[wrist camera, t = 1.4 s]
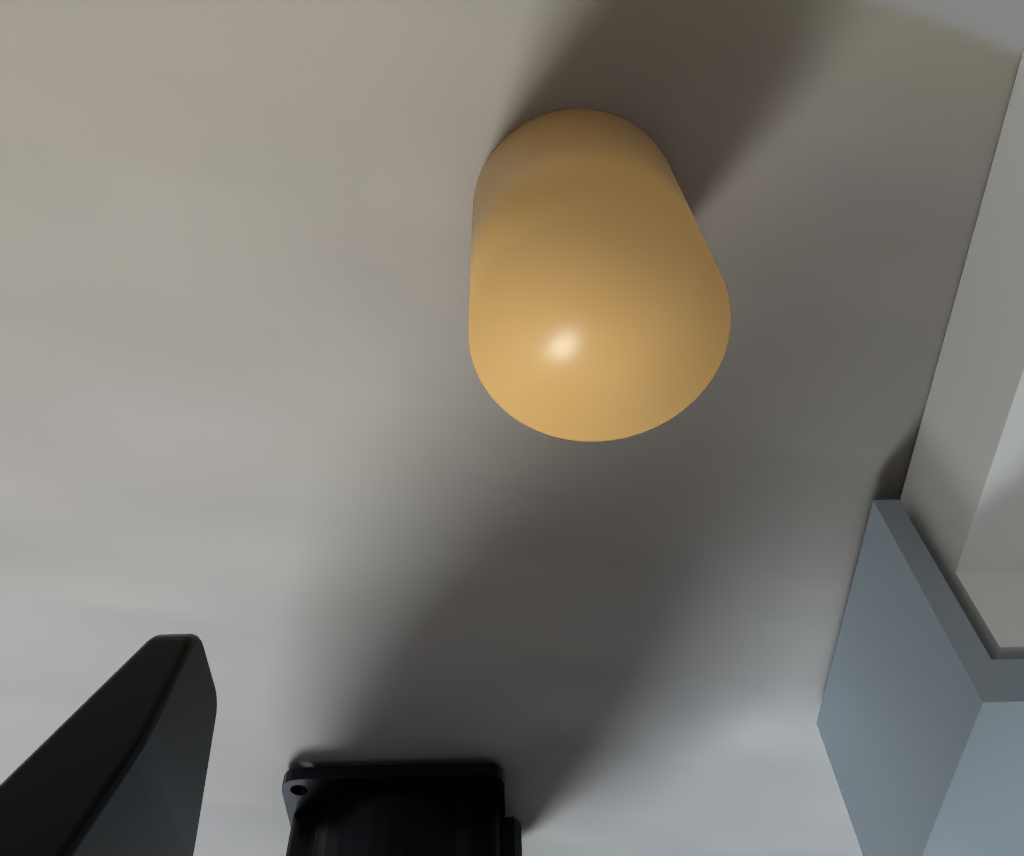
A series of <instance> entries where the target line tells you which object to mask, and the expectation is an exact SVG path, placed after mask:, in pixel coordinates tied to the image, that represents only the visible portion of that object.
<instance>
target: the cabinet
mask: <svg viewBox="0 0 1024 856" xmlns="http://www.w3.org/2000/svg"><path fill="white" fill-rule="evenodd" d="M817 726H818V728H819V731H820V734H821V737H822V740H823V743H824V745H825V748H826V751H827V754H828V757H829V760H830V762H831V765H832V768H833V771H834V774H835V777H836V780H837V782H838V785H839V788H840V791H841V794H842V797H843V799H844V802H845V805H846V808H847V811H848V814H849V816H850V819H851V822H852V825H853V828H854V831H855V833H856V836H857V839H858V842H859V845H860V848H861V850H862V853H863V856H1024V659H994V660H991V658H990V656H989V654H988V653H987V651H986V649H985V647H984V646H983V644H982V642H981V641H980V639H979V637H978V635H977V634H976V632H975V630H974V628H973V627H972V625H971V623H970V622H969V620H968V618H967V616H966V615H965V613H964V611H963V609H962V608H961V606H960V604H959V603H958V601H957V599H956V597H955V596H954V594H953V592H952V590H951V589H950V587H949V585H948V584H947V582H946V580H945V578H944V577H943V575H942V573H941V571H940V570H939V568H938V566H937V565H936V563H935V561H934V559H933V558H932V556H931V554H930V552H929V551H928V549H927V547H926V546H925V544H924V542H923V540H922V539H921V537H920V535H919V533H918V532H917V530H916V528H915V527H914V525H913V523H912V521H911V520H910V518H909V516H908V514H907V513H906V511H905V509H904V508H903V506H902V504H901V502H900V501H899V499H897V500H873V503H872V507H871V511H870V515H869V519H868V523H867V527H866V531H865V535H864V539H863V542H862V546H861V550H860V554H859V558H858V562H857V566H856V570H855V574H854V578H853V582H852V586H851V590H850V594H849V598H848V601H847V605H846V609H845V613H844V617H843V621H842V625H841V629H840V633H839V637H838V641H837V645H836V649H835V653H834V657H833V661H832V664H831V668H830V672H829V676H828V680H827V684H826V688H825V692H824V696H823V700H822V704H821V708H820V712H819V716H818V720H817Z"/></svg>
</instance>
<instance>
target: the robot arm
mask: <svg viewBox="0 0 1024 856" xmlns="http://www.w3.org/2000/svg"><path fill="white" fill-rule="evenodd" d="M216 710H217V697H216V690H215V686H214V683H213V679H212V675H211V672H210V668H209V665H208V661H207V658H206V654H205V650H204V647H203V644H202V642H201V640H200V639H199V637H198V636H196V635H193V634H168V635H157V636H155V637H153V638H151V639H150V640H149V641H147V642H146V643H145V644H144V645H143V646H142V647H141V648H140V649H139V650H138V651H137V652H136V653H135V654H134V655H133V656H132V657H131V658H130V659H129V660H128V661H127V662H126V663H125V664H124V665H123V666H122V667H121V668H120V669H119V670H118V671H117V672H116V673H115V674H114V675H113V676H112V677H110V678H109V679H108V680H107V681H106V682H105V683H104V684H103V685H102V686H101V687H100V688H99V689H98V690H97V691H96V692H95V693H94V694H93V695H92V696H91V697H90V698H89V699H88V700H87V701H86V702H85V703H84V704H83V705H82V706H81V707H80V708H79V709H78V710H77V711H76V712H75V713H74V714H73V715H72V716H71V717H70V718H68V719H67V720H66V721H65V722H64V723H63V724H62V725H61V726H60V727H59V728H58V729H57V730H56V731H55V732H54V733H53V734H52V735H51V736H50V737H49V738H48V739H47V740H46V741H45V742H44V743H43V744H42V745H41V746H40V747H39V748H38V749H37V750H36V751H35V752H34V753H33V754H32V755H31V756H30V757H29V758H28V759H26V760H25V761H24V762H23V763H22V764H21V765H20V766H19V767H18V768H17V769H16V770H15V771H14V772H13V773H12V774H11V775H10V776H9V777H8V778H7V779H6V780H5V781H4V782H3V783H2V784H1V785H0V856H193V852H194V847H195V841H196V835H197V829H198V823H199V817H200V811H201V805H202V798H203V792H204V786H205V780H206V774H207V768H208V762H209V755H210V749H211V743H212V737H213V731H214V725H215V719H216ZM282 793H283V797H284V801H285V805H286V809H287V813H288V817H289V821H290V825H291V831H290V837H289V842H288V847H287V852H286V856H522V842H521V822H520V821H519V820H518V819H517V818H516V817H515V816H505V794H504V772H503V769H502V768H501V767H500V766H499V765H497V764H494V763H487V762H485V763H450V764H414V765H379V766H344V767H309V768H294V769H291V770H289V771H287V772H286V774H285V775H284V780H283V785H282Z"/></svg>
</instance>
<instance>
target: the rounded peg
mask: <svg viewBox="0 0 1024 856" xmlns="http://www.w3.org/2000/svg"><path fill="white" fill-rule="evenodd" d="M730 330H731V307H730V299H729V295H728V291H727V287H726V284H725V282H724V279H723V277H722V275H721V272H720V270H719V268H718V266H717V264H716V262H715V260H714V258H713V255H712V253H711V251H710V249H709V247H708V245H707V243H706V241H705V239H704V237H703V235H702V233H701V231H700V228H699V226H698V224H697V222H696V220H695V218H694V216H693V214H692V212H691V210H690V208H689V206H688V204H687V201H686V199H685V197H684V195H683V193H682V191H681V189H680V187H679V185H678V183H677V181H676V179H675V177H674V174H673V172H672V170H671V168H670V166H669V164H668V162H667V160H666V158H665V157H664V155H663V153H662V152H661V150H660V149H659V147H658V146H657V145H656V144H655V142H654V141H653V140H652V139H651V138H650V137H649V136H648V135H647V134H646V133H645V132H643V131H642V130H641V129H640V128H638V127H637V126H635V125H634V124H632V123H631V122H629V121H627V120H625V119H623V118H621V117H619V116H616V115H613V114H610V113H607V112H603V111H598V110H592V109H567V110H560V111H556V112H551V113H548V114H545V115H542V116H539V117H537V118H534V119H532V120H531V121H529V122H527V123H525V124H523V125H521V126H520V127H519V128H517V129H516V130H514V131H513V132H511V133H510V134H509V135H508V136H507V137H506V138H505V139H504V140H503V141H502V142H501V143H500V144H499V145H498V146H497V147H496V149H495V150H494V151H493V152H492V154H491V155H490V157H489V158H488V160H487V161H486V163H485V165H484V167H483V169H482V171H481V173H480V176H479V178H478V182H477V185H476V188H475V193H474V199H473V219H472V247H471V275H470V303H469V334H468V338H469V346H470V353H471V357H472V360H473V364H474V367H475V370H476V372H477V374H478V376H479V379H480V381H481V382H482V384H483V385H484V387H485V389H486V390H487V392H488V393H489V394H490V396H491V397H492V398H493V399H494V400H495V402H496V403H497V404H498V405H499V406H500V407H501V408H503V409H504V410H505V411H506V412H507V413H508V414H509V415H511V416H512V417H514V418H515V419H516V420H518V421H519V422H521V423H523V424H525V425H526V426H528V427H530V428H532V429H534V430H536V431H539V432H542V433H544V434H547V435H550V436H554V437H558V438H562V439H567V440H575V441H591V442H597V441H609V440H616V439H621V438H626V437H630V436H633V435H637V434H640V433H643V432H645V431H648V430H650V429H653V428H655V427H657V426H659V425H661V424H663V423H664V422H666V421H668V420H670V419H672V418H673V417H674V416H676V415H677V414H679V413H680V412H681V411H683V410H684V409H685V408H686V407H688V406H689V405H690V404H691V403H692V402H693V401H694V400H695V399H696V398H697V397H698V396H699V395H700V394H701V393H702V392H703V390H704V389H705V388H706V387H707V386H708V384H709V383H710V381H711V380H712V378H713V377H714V375H715V374H716V372H717V370H718V368H719V366H720V364H721V362H722V360H723V357H724V354H725V351H726V349H727V346H728V341H729V336H730Z"/></svg>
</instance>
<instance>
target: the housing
mask: <svg viewBox="0 0 1024 856" xmlns="http://www.w3.org/2000/svg"><path fill="white" fill-rule="evenodd" d="M900 502H901V504H902V506H903V508H904V509H905V511H906V513H907V514H908V516H909V518H910V520H911V521H912V523H913V525H914V527H915V528H916V530H917V532H918V533H919V535H920V537H921V539H922V540H923V542H924V544H925V546H926V547H927V549H928V551H929V552H930V554H931V556H932V558H933V559H934V561H935V563H936V565H937V566H938V568H939V570H940V571H941V573H942V575H943V577H944V578H945V580H946V582H947V584H948V585H949V587H950V589H951V590H952V592H953V594H954V596H955V597H956V599H957V601H958V603H959V604H960V606H961V608H962V609H963V611H964V613H965V615H966V616H967V618H968V620H969V622H970V623H971V625H972V627H973V628H974V630H975V632H976V634H977V635H978V637H979V639H980V641H981V642H982V644H983V646H984V647H985V649H986V651H987V653H988V654H989V656H990V658H991V660H994V659H1024V50H1023V53H1022V57H1021V61H1020V64H1019V68H1018V72H1017V75H1016V79H1015V83H1014V86H1013V90H1012V93H1011V97H1010V101H1009V104H1008V108H1007V112H1006V115H1005V119H1004V123H1003V126H1002V130H1001V134H1000V137H999V141H998V144H997V148H996V152H995V155H994V159H993V163H992V166H991V170H990V174H989V177H988V181H987V185H986V188H985V192H984V195H983V199H982V203H981V206H980V210H979V214H978V217H977V221H976V225H975V228H974V232H973V236H972V239H971V243H970V247H969V250H968V254H967V257H966V261H965V265H964V268H963V272H962V276H961V279H960V283H959V287H958V290H957V294H956V298H955V301H954V305H953V308H952V312H951V316H950V319H949V323H948V327H947V330H946V334H945V338H944V341H943V345H942V349H941V352H940V356H939V359H938V363H937V367H936V370H935V374H934V378H933V381H932V385H931V389H930V392H929V396H928V400H927V403H926V407H925V411H924V414H923V418H922V421H921V425H920V429H919V432H918V436H917V440H916V443H915V447H914V451H913V454H912V458H911V462H910V465H909V469H908V472H907V476H906V480H905V483H904V487H903V491H902V494H901V498H900Z"/></svg>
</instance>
